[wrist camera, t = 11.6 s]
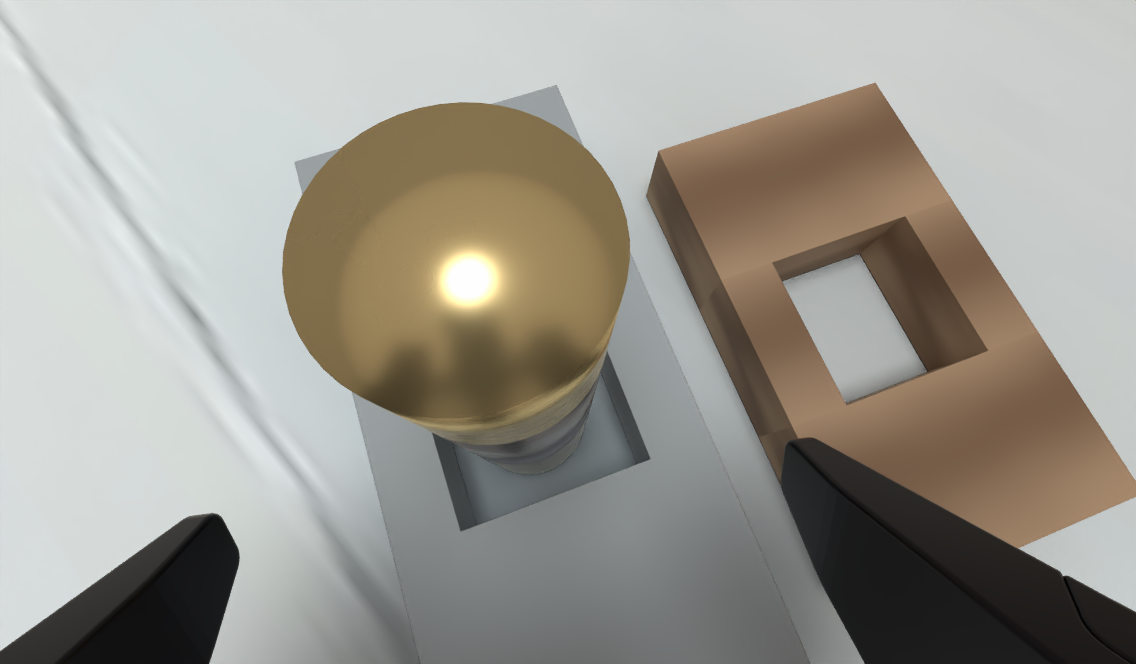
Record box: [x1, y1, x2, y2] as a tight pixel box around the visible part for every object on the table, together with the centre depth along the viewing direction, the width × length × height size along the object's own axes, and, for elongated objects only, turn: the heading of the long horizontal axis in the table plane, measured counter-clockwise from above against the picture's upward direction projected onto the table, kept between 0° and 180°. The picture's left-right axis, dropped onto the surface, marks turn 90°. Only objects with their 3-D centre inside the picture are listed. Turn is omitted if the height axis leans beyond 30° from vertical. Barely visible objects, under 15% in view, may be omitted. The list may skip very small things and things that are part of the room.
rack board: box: [295, 85, 811, 664], centre depth 18 cm, size 22×10×3 cm, turn 20°
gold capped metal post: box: [282, 102, 630, 474], centre depth 13 cm, size 4×4×14 cm
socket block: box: [646, 83, 1136, 548], centre depth 19 cm, size 16×9×3 cm, turn 20°
